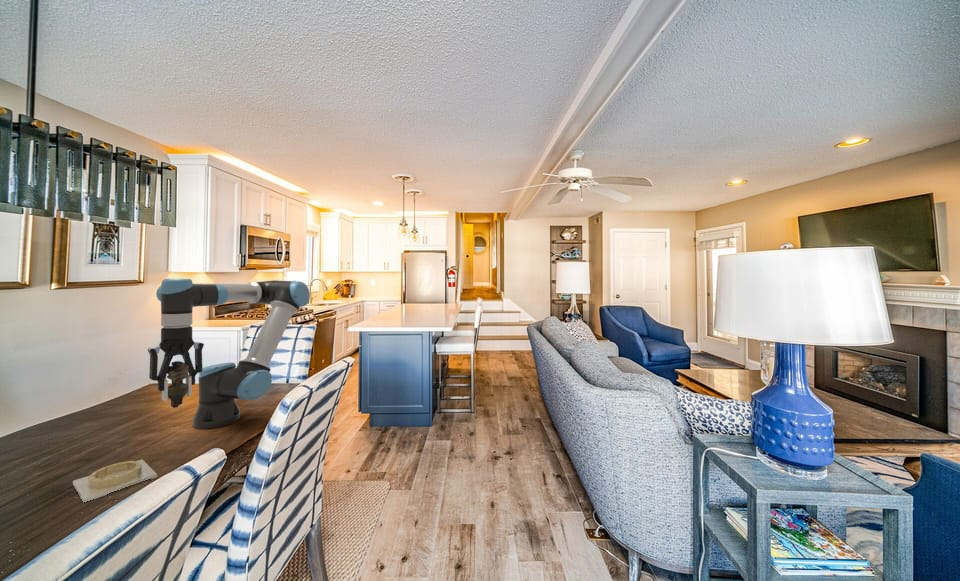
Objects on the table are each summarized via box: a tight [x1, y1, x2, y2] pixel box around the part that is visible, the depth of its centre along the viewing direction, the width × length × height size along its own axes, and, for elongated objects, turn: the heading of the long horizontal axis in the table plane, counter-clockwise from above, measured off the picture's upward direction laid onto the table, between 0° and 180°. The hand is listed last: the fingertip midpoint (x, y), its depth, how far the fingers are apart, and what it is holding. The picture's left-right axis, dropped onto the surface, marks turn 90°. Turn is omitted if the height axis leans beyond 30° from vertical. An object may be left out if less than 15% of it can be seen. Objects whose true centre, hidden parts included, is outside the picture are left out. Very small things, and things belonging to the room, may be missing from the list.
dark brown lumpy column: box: [166, 360, 189, 409], centre depth 109 cm, size 6×6×15 cm
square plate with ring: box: [72, 459, 158, 504], centre depth 96 cm, size 14×14×3 cm
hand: (177, 397), depth 109 cm, fingers closed on dark brown lumpy column, 5 cm apart
